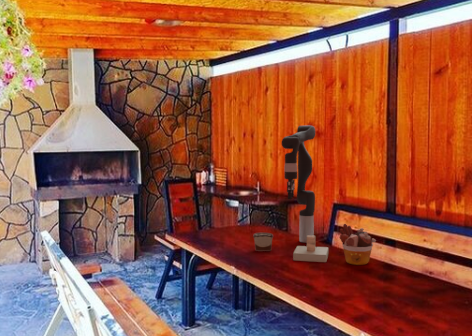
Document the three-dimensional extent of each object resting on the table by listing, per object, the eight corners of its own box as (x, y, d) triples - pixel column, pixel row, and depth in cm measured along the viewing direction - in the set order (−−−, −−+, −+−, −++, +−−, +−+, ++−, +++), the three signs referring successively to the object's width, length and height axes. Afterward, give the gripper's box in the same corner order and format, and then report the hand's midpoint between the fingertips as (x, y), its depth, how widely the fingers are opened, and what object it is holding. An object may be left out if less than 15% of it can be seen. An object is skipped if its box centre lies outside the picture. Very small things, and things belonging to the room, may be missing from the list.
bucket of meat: (381, 264, 256) (381, 227, 255) (359, 269, 247) (359, 230, 246) (353, 256, 273) (353, 221, 272) (332, 260, 264) (332, 225, 263)
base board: (297, 252, 283) (297, 245, 283) (328, 254, 278) (328, 247, 278) (293, 260, 265) (293, 253, 265) (326, 262, 261) (326, 254, 261)
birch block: (307, 249, 274) (307, 235, 274) (315, 249, 273) (315, 235, 273) (306, 250, 270) (306, 236, 269) (314, 251, 269) (314, 237, 268)
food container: (273, 248, 293) (273, 232, 293) (273, 250, 287) (273, 234, 287) (253, 248, 295) (253, 232, 294) (253, 250, 289) (252, 234, 288)
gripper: (295, 171, 274) (295, 200, 275) (298, 170, 287) (298, 196, 289) (282, 171, 276) (282, 199, 277) (286, 169, 289) (286, 196, 290)
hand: (290, 198), depth 283 cm, fingers open, 8 cm apart
